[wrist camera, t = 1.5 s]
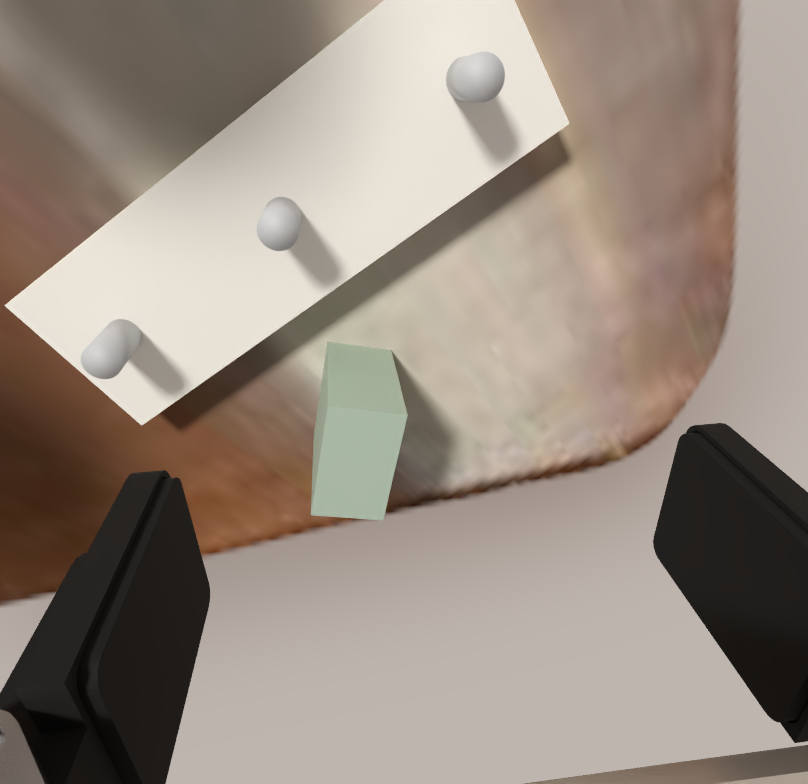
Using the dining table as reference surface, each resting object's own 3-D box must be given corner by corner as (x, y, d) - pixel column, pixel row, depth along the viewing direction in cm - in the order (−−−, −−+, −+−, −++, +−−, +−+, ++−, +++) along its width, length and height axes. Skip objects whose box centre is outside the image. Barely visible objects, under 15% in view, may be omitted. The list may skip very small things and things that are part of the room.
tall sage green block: (375, 441, 33) (386, 520, 27) (313, 435, 32) (310, 515, 26) (394, 350, 30) (411, 415, 24) (327, 341, 30) (328, 406, 24)
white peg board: (152, 406, 30) (123, 459, 26) (25, 291, 26) (-34, 330, 22) (552, 121, 26) (599, 127, 21) (467, -64, 22) (502, -103, 18)
